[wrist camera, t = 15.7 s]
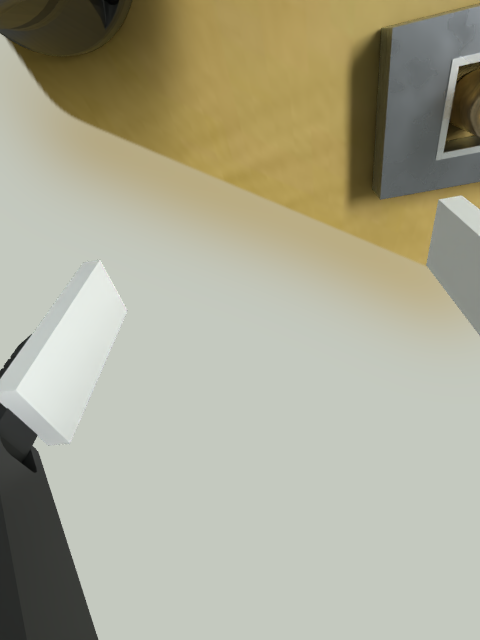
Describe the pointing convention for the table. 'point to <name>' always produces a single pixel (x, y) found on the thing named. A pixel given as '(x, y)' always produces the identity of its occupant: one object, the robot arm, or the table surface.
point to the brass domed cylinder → (467, 103)
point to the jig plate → (423, 104)
